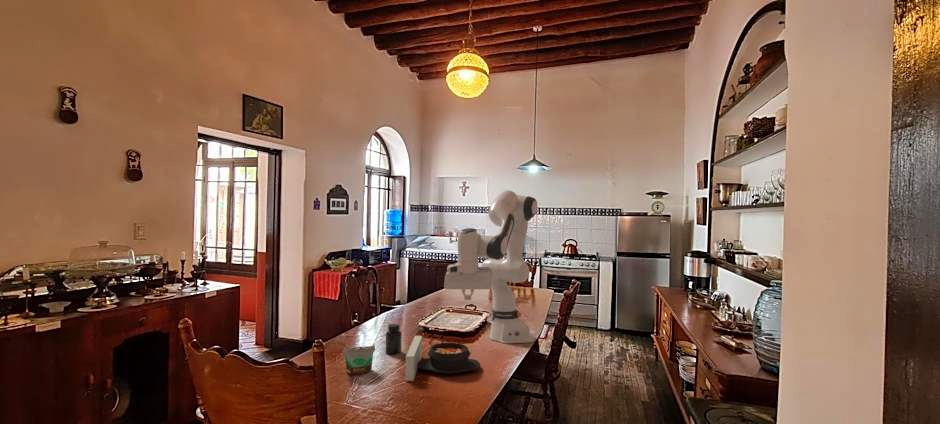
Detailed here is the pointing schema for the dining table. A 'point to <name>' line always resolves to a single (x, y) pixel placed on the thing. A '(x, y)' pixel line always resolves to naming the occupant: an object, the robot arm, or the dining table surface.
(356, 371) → the food container
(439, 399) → the dining table surface
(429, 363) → the casserole
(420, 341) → the board
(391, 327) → the supplement bottle
